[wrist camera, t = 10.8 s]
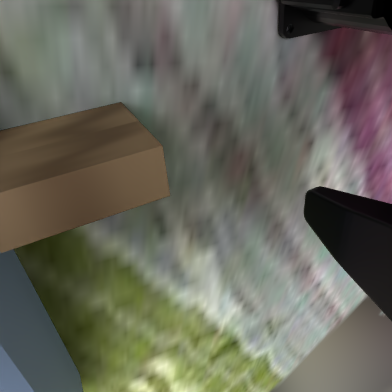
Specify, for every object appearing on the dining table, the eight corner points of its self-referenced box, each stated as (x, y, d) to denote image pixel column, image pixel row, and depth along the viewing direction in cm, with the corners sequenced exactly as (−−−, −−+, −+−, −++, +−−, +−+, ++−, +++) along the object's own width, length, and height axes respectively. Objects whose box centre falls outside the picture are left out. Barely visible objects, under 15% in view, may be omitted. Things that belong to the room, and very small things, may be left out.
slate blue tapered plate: (-165, 66, 13) (-312, 150, 7) (-90, 54, 14) (-160, 120, 7) (48, 388, 27) (63, 511, 21) (79, 373, 27) (103, 488, 21)
